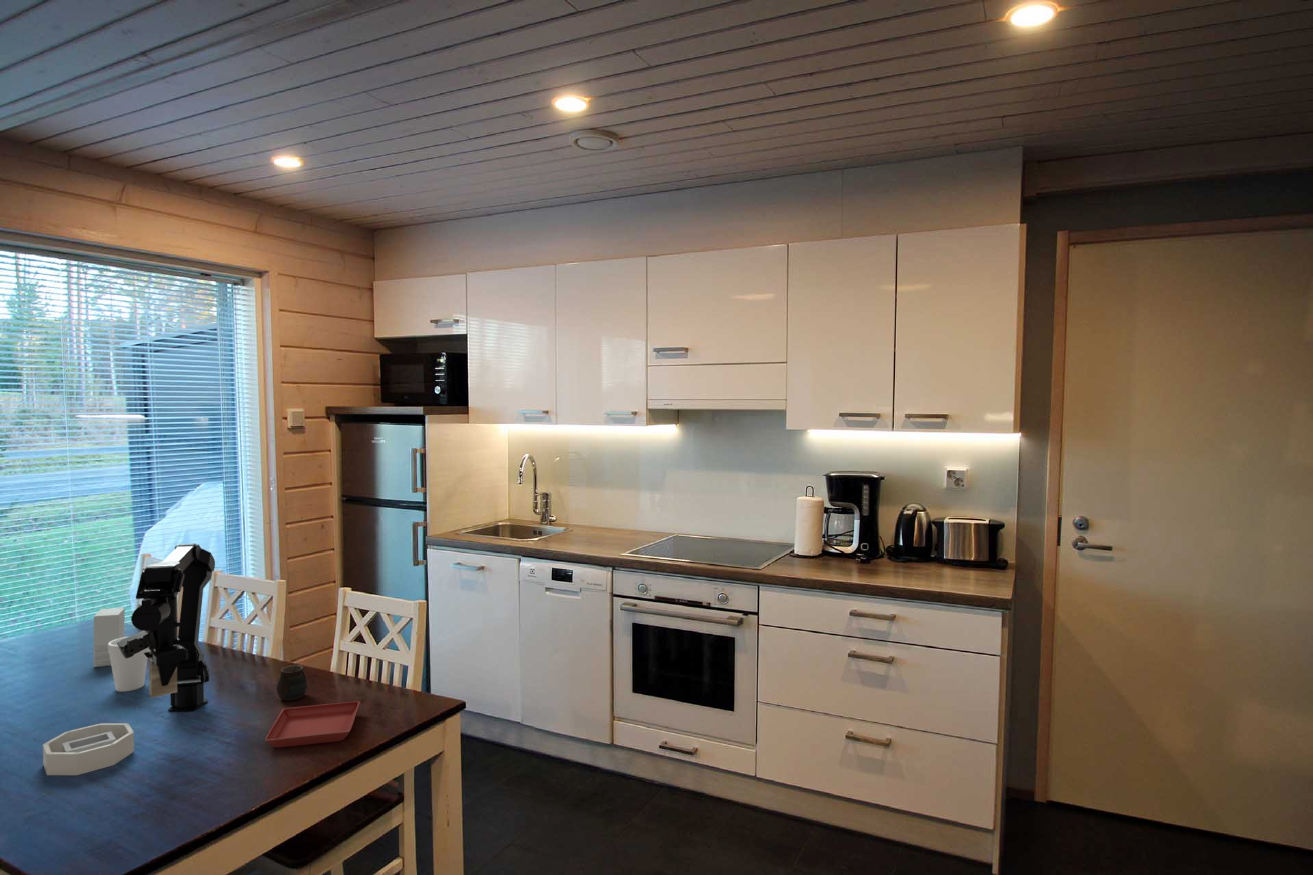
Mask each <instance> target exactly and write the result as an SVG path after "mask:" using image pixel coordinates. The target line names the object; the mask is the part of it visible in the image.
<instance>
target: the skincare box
mask: <svg viewBox="0 0 1313 875" xmlns="http://www.w3.org/2000/svg"><path fill="white" fill-rule="evenodd" d="M125 614H126V612H125V607H123V606H122V607H114V608H102V609H99V610H98V612H97V613H96V614H94V615H93V668H100V667H107V666H111V661H110V655H109V653H108V643H109V642H111V641H113V640H115V639H119V638H123V637H126V636H125V635H126V632H125V627H126V626H125V624H126V623H125V620H126V619H125Z"/></svg>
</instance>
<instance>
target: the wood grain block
mask: <svg viewBox="0 0 1313 875" xmlns="http://www.w3.org/2000/svg"><path fill="white" fill-rule="evenodd" d="M152 659H153V656H151V657H149V658H148V667H149V668H148V669H149V670H148V671H149V672H148V676H149V679H148V680H149V681H148V682H149V683H148V684H149V688H148V689H149V696H150V698H152V699H153V698H157V697H162V696H165V695H170V694H171V693H175V692H177V667H176V669H175V671H174V673H173V675H172V677H171V679H170V681H169V683H168V685H166V686H162V684H161V680H160V675H159V671H158V666H156V665H155V664H153V663H152V662H151V661H150V660H152Z"/></svg>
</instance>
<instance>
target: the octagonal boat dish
mask: <svg viewBox="0 0 1313 875" xmlns="http://www.w3.org/2000/svg"><path fill="white" fill-rule="evenodd" d="M134 734H135V732H134V730H133V729H132V727H131V726H130V724H129V723H126V722H124V723H123V722H122V723H117V722H115V723H110V722H106V723H105V722H103V723H101V722H100V723H97V724H94V725H93V724H92V725H89V726H84V727H80V728H76V729H72V730H68V731H65V732H63V733H61V734H59V735H57V736H56V737H54V738H52V739H50V740H49V741H47V742H45V743H43V744H42V760H43V761H42V763H43V764H42V765H43V768H44V770H45V774H46V776H79V775H83V774H86V773H89V772H94V771H97V770H100V769H102V770H103V769H104V768H108V767H112V766H114V765H116V764H118V763H119V762H121V761H122V760H124V759H125V758H126V757H128V756H130V755H132V754H133V753H135V735H134Z"/></svg>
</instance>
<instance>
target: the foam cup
mask: <svg viewBox="0 0 1313 875" xmlns="http://www.w3.org/2000/svg"><path fill="white" fill-rule="evenodd" d="M129 636H130V635H129ZM129 636H125V637H123V638H119V639H115V640H113V641H111V642H109V643H108V653H109V655H110V661H111V665H110V666H111V670H112V671H111V672H112V677H113V682H114V688H115V691H117V692H130V691H135V690H138V689H141V688H143V687H144V685H145V681H146V680H145V678H146V673H147V664H148V660H149V658H147V657H146V656H145V655H144V653H146V652H148V648H146V649H144V650H142V651H140V652H138V653H136V654H134V655H133V656H132V657H130V658H125V657H124V656H123V655H122V653H121V651H120V649H119V647H118V645H117V643H118V642H119V641H121V640H123V639H125V638H127V637H129Z"/></svg>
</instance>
